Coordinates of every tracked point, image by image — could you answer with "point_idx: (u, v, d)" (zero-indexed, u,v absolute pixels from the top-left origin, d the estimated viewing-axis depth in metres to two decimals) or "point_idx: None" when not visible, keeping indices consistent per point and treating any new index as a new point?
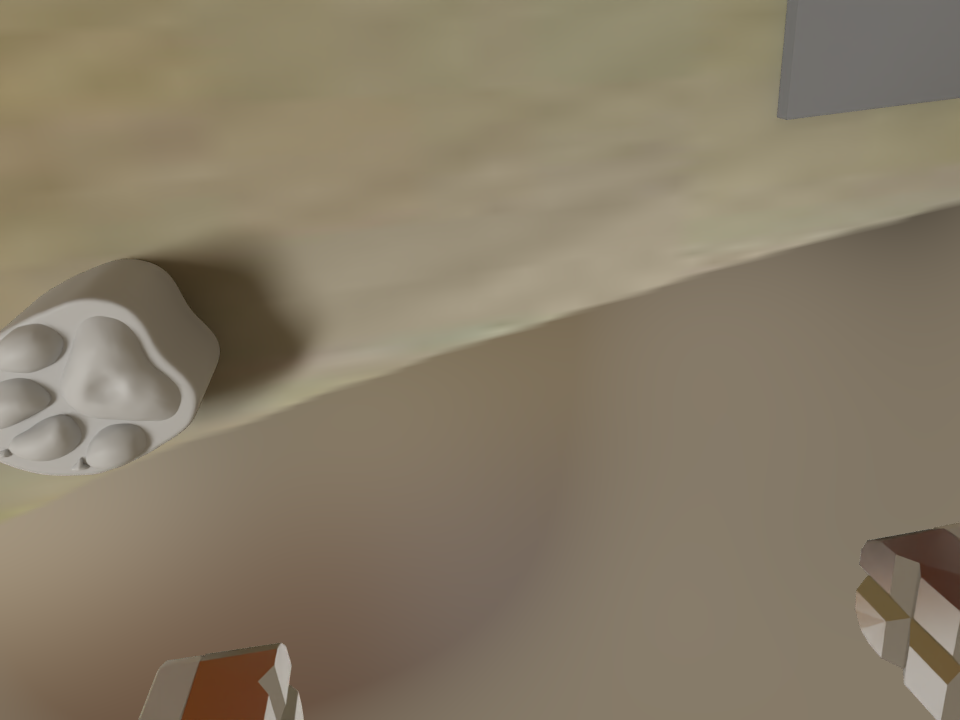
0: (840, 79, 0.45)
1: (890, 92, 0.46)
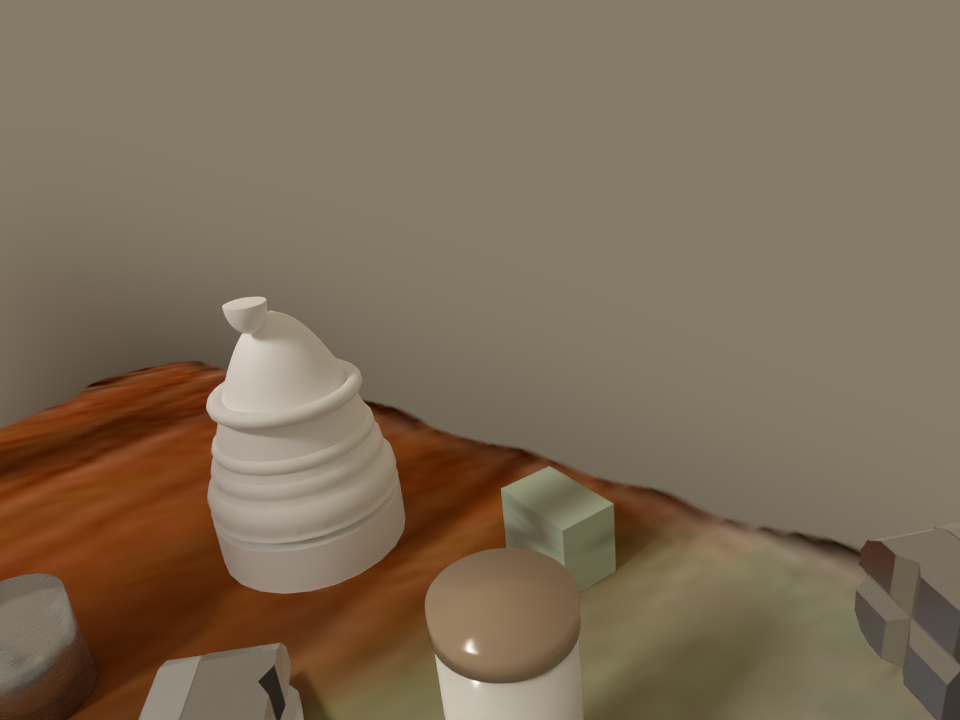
0: None
1: None
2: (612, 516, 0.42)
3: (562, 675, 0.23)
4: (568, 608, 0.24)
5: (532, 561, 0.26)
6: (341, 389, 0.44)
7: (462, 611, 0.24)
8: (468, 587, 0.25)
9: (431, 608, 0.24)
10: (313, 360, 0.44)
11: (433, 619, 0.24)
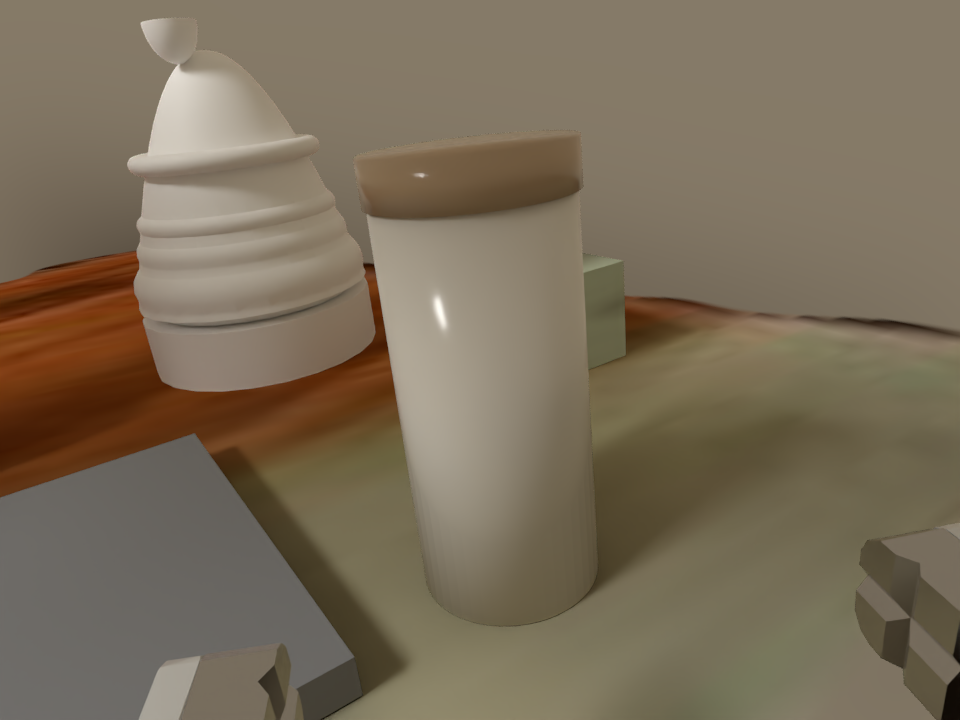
0: None
1: None
2: (621, 278, 0.34)
3: (557, 232, 0.16)
4: (564, 136, 0.16)
5: (514, 133, 0.18)
6: (290, 139, 0.36)
7: (407, 152, 0.16)
8: (419, 147, 0.17)
9: (362, 156, 0.16)
10: (256, 104, 0.36)
11: (363, 158, 0.16)
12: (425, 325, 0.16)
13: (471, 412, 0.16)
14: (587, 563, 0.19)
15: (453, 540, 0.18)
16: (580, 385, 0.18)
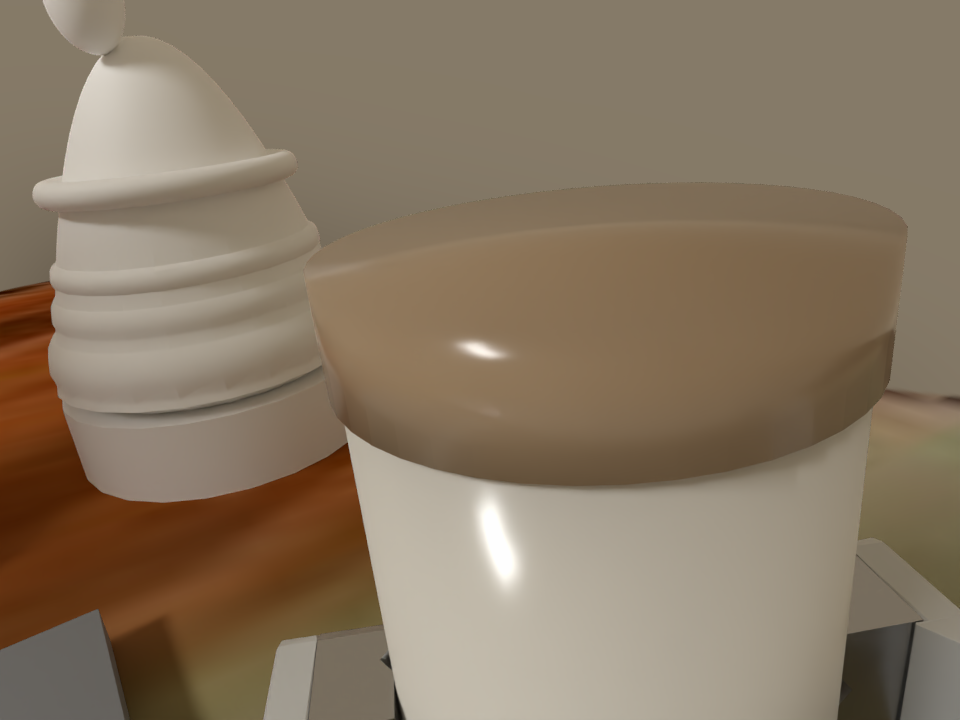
0: None
1: None
2: None
3: (851, 484, 0.06)
4: (864, 223, 0.06)
5: (665, 190, 0.08)
6: (256, 158, 0.26)
7: (444, 258, 0.06)
8: (465, 230, 0.07)
9: (328, 263, 0.07)
10: (209, 110, 0.26)
11: (328, 277, 0.06)
12: (490, 712, 0.06)
13: None
14: None
15: None
16: None
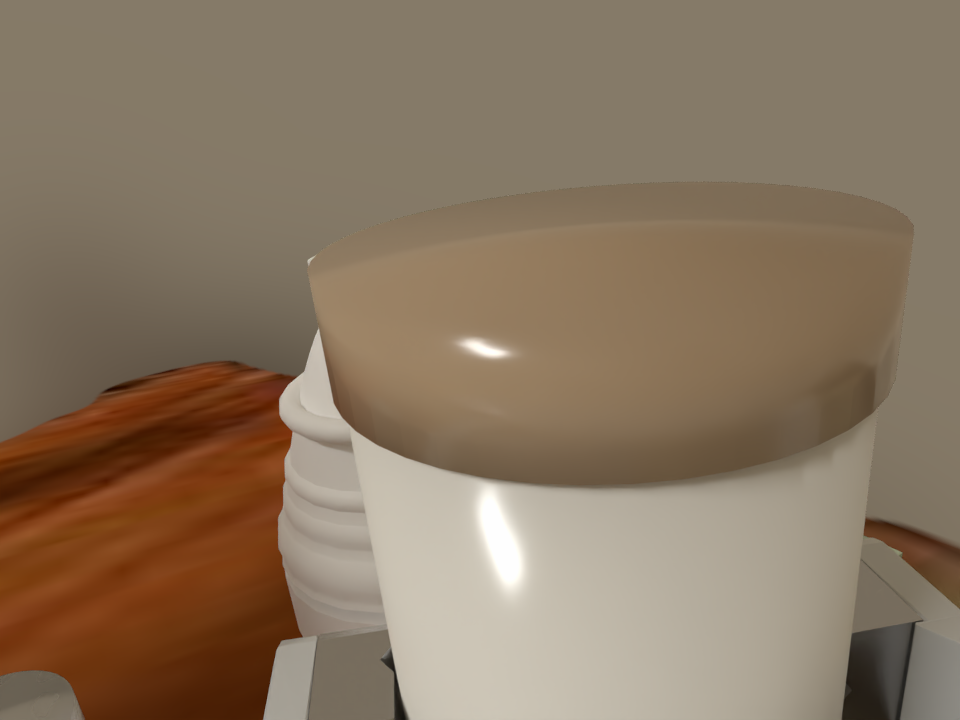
0: None
1: None
2: None
3: (857, 483, 0.06)
4: (869, 221, 0.06)
5: (669, 189, 0.08)
6: None
7: (448, 256, 0.06)
8: (469, 229, 0.07)
9: (332, 262, 0.07)
10: None
11: (332, 276, 0.06)
12: (494, 712, 0.06)
13: None
14: None
15: None
16: None
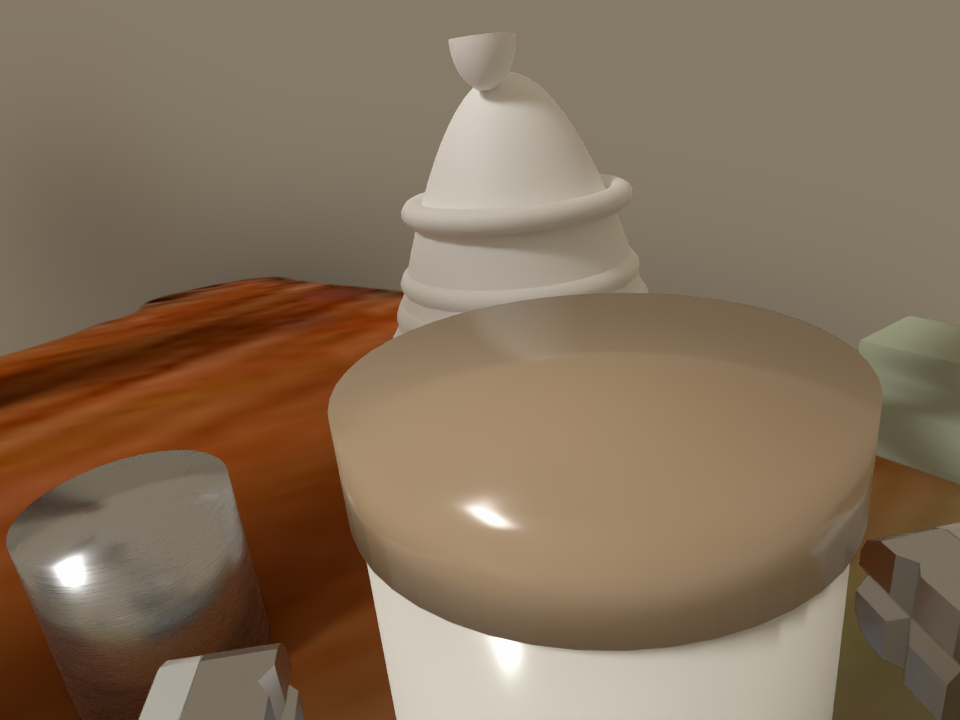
0: None
1: None
2: None
3: (831, 625, 0.06)
4: (844, 381, 0.06)
5: (663, 308, 0.09)
6: (617, 185, 0.28)
7: (457, 405, 0.07)
8: (476, 358, 0.08)
9: (351, 402, 0.07)
10: (574, 141, 0.28)
11: (352, 426, 0.07)
12: None
13: None
14: None
15: None
16: None
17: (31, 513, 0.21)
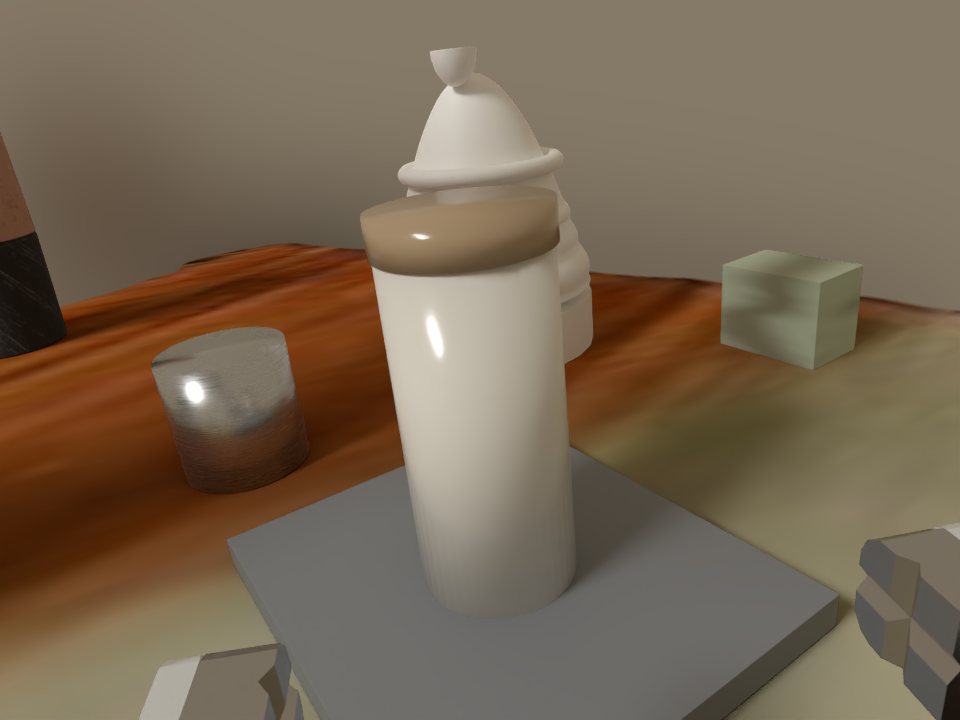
0: None
1: (656, 694, 0.18)
2: (860, 280, 0.38)
3: (535, 283, 0.18)
4: (542, 201, 0.18)
5: (501, 188, 0.21)
6: (550, 154, 0.40)
7: (407, 213, 0.19)
8: (418, 204, 0.20)
9: (368, 215, 0.19)
10: (520, 122, 0.40)
11: (369, 219, 0.18)
12: (422, 363, 0.19)
13: (462, 436, 0.19)
14: (565, 564, 0.22)
15: (447, 545, 0.21)
16: (558, 411, 0.20)
17: (162, 357, 0.33)
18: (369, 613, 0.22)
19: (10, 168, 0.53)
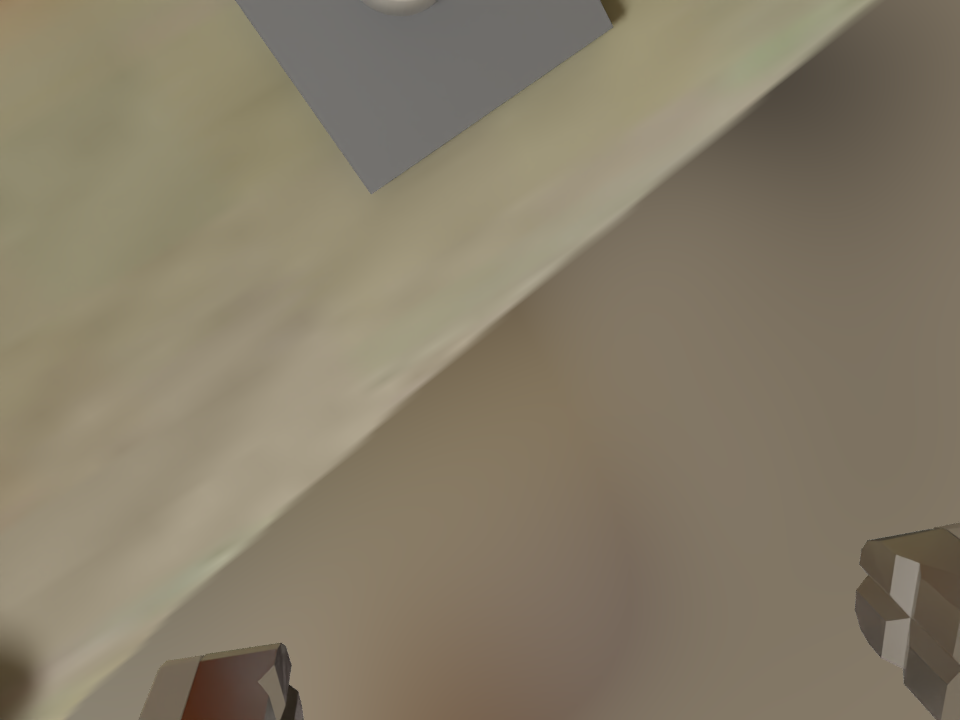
0: (404, 115, 0.33)
1: (482, 93, 0.33)
2: None
3: None
4: None
5: None
6: None
7: None
8: None
9: None
10: None
11: None
12: None
13: None
14: None
15: None
16: None
17: None
18: None
19: None
